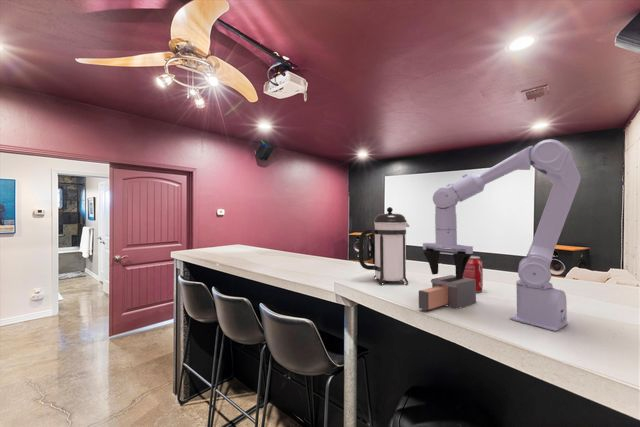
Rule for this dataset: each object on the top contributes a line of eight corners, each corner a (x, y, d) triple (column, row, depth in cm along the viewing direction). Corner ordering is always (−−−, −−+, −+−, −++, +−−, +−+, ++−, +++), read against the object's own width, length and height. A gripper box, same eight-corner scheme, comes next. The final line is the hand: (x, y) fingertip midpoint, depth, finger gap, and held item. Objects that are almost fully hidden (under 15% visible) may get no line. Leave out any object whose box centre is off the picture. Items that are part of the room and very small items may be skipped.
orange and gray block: (448, 299, 86) (448, 283, 86) (455, 301, 84) (455, 285, 84) (418, 307, 79) (418, 290, 79) (426, 310, 77) (426, 292, 77)
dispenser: (451, 296, 92) (451, 275, 92) (476, 302, 85) (475, 279, 85) (431, 302, 86) (430, 279, 86) (456, 309, 79) (455, 284, 79)
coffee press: (384, 275, 124) (383, 207, 125) (417, 282, 112) (416, 206, 112) (357, 281, 113) (357, 207, 113) (391, 289, 101) (390, 206, 101)
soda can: (477, 288, 102) (476, 255, 102) (486, 294, 95) (486, 258, 95) (456, 288, 102) (456, 255, 102) (464, 293, 95) (464, 258, 95)
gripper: (416, 229, 86) (417, 273, 86) (462, 231, 74) (463, 282, 74) (430, 228, 90) (431, 271, 90) (476, 230, 78) (477, 279, 78)
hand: (446, 276), depth 82 cm, fingers open, 7 cm apart
